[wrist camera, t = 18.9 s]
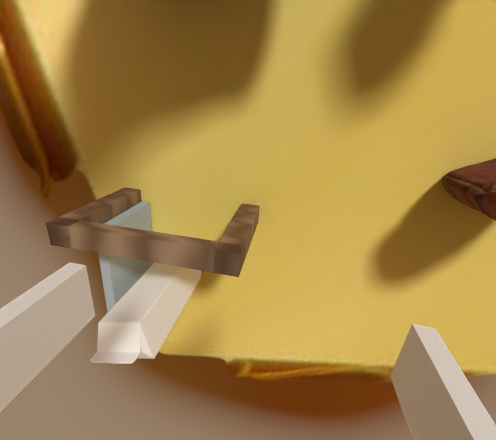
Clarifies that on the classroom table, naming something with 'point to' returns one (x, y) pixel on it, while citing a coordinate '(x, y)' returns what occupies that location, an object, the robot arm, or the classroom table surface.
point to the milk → (145, 314)
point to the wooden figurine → (475, 186)
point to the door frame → (153, 236)
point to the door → (120, 268)
